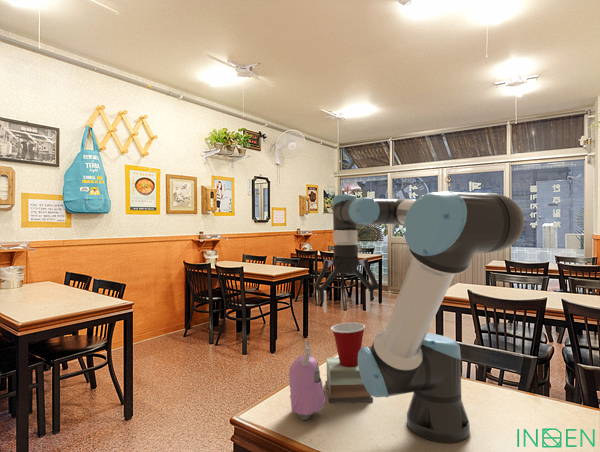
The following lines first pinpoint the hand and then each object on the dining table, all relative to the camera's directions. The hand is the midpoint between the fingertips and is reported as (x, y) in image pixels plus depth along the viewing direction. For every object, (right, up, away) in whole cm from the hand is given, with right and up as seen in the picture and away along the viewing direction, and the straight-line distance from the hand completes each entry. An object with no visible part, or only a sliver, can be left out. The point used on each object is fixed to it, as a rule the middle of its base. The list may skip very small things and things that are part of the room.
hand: (346, 311), depth 116 cm
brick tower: (0, -25, 0) cm, 25 cm away
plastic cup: (+1, -17, 0) cm, 17 cm away
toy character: (-12, -26, -13) cm, 31 cm away
